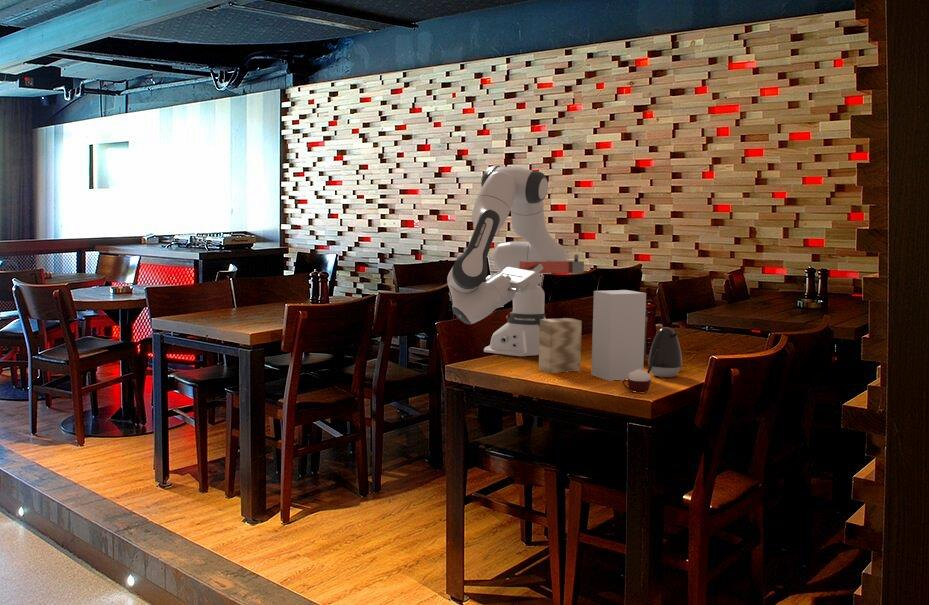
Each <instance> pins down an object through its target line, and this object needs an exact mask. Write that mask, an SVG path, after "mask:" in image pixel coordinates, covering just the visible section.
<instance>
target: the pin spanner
mask: <svg viewBox="0 0 929 605" xmlns="http://www.w3.org/2000/svg"><path fill="white" fill-rule="evenodd" d="M537 264H541V265H542V266H543V270H541V271H540V272H539V273H550V274H584V272H585V270H584V269H585V268H584V267H585V262H584V261H581V260H579V254H574V259H573V260H572V259H571V260H568V259H567V261H520V264H519V269H524V270H525V269H527V270H531V269H533V268H535V266H536V265H537Z"/></svg>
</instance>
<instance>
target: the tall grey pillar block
mask: <svg viewBox="0 0 929 605" xmlns="http://www.w3.org/2000/svg"><path fill="white" fill-rule="evenodd" d="M646 304H647V292H640V291H636V290H631V289H630V290H628V289H618V290H616V289H615V290H593V305H592V306H593V308H592V309H593V310H592V314H593V315H592V317H593V318H592V340H591V342H592V343H591V367H590V368H591V371H590V375H591V376H592V375H593V377H595V376H596V378H598V377H599V379H601V378H602V379H601V380H604V379H605V380H604V381H607V380H608V381H607V382H614V381H613V380H620V381H623V380H625V379H628V373H630V372H632V371H635V370H637V369H641V370H644V361H645V360H644V337H645V311H646V309H647V307H646Z"/></svg>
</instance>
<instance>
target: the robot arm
mask: <svg viewBox="0 0 929 605" xmlns="http://www.w3.org/2000/svg"><path fill="white" fill-rule="evenodd" d="M480 181H481V183H480V184H481V188H480V190H479V193H478V194H477V197H476V200H475V203H474V205H473V209H472V213H471V221H472V222H473V225H474V230H473V232H472V235H471V238H470V240H469V242H468V246H467V247H466V250H465V251H464V252H463V253H461V254H460V256H458V257H457V258H456V260H455V261H454V263H453V266H452V267H451V269H450V271H449V272H448V275H447V278H446V284H447V287H448V288H449V292H450V293H451V299H452V307H451V308H452V312H453V314H454V315H455V316H456V318H457V319H458V320H460V321H461V322H462V323H464V324H465V325H472V324H476V323H477V322H480V321H481V320H483V319H485V318H487V317H488V316H489V315H491V314H492V313H493V311H495V310H496V309H499V308H501V307H503V306H504V305H506V304H508V303H509V302H511V301H512V311H510V312H509V313H508V314H507V315H506V320H507V322H506V323H505V324H503V325H502V326H501V327H499V328H498V329H497V330H496V331H494V332H493V334H492V336H491V339H490V344H489V345H488V346H485V347H484V348H483V352H484V353H491V354H496V355H497V354H498V355H506V356H514V357H515V356H516V357H527V356H530V357H531V356H539V338H540V319H547V318H546V313H545V300H546V299H545V295H546V294H545V290H544V289H543V288H542V287H541V286H539V285H540V284H542V281H543V279H542V276H541V274H542V275H549V274H551V273H539V272H540V271H541V270H543V266H542V265H541V264H537V265H536V266H535V268H533V269H531V270H527V269H525V270H524V269H519V264H520V261H568V254H567V251H566V248H564V246H563V245H562V244H560V243H558V242H557V241H556V240H555V239H554V238H553V237H552V236H551V234H550V233H549V231H548V229H547V227H546V222H545V221H546V220H545V210H544V208H545V207H544V199H545V198H546V196H547V193H548V190H549V181H548V178H547V177H546V175H545V173H543V172H541V171H539V170H531V169H529V168H524V167H517V166H516V167H515V166H501V165H490V166H488V167H487V168H486V169H485V170H484V172H483V174H482V177H481V179H480ZM509 214H510V216H511V228H512V230H513V232H514V233H515V234H516V236H518V237H520V238H522V239H524V240H525V241H506V242H502V243H498V245H496V247H495V249H494V251H493V253H492V261H493V265H494V266H495V268H496V269H497V270H498V271H497V272H495V273H494V274H490V275H488V255H489V252H490V250H491V247H492V244H493V241H494V238H495V235H497V232H498V231H500V230H501V229H502V228H503V226H504V225H505V222H506V221H507V220H508V217H509ZM484 281H485V282H484Z"/></svg>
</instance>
